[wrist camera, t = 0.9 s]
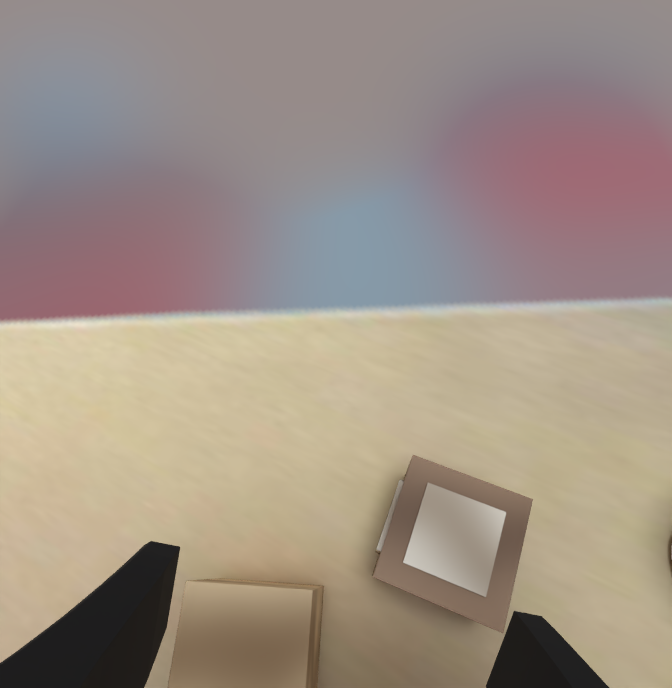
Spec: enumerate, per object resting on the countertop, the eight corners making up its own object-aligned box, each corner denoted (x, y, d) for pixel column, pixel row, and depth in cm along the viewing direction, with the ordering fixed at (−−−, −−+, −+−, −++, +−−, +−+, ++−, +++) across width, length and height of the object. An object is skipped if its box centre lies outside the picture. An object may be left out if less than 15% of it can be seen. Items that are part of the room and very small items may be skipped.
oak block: (315, 714, 21) (300, 754, 16) (203, 703, 21) (158, 739, 17) (323, 585, 23) (312, 590, 19) (221, 578, 24) (185, 580, 19)
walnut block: (475, 620, 22) (504, 633, 17) (368, 573, 23) (367, 574, 18) (502, 512, 24) (534, 498, 19) (401, 474, 25) (408, 452, 20)
